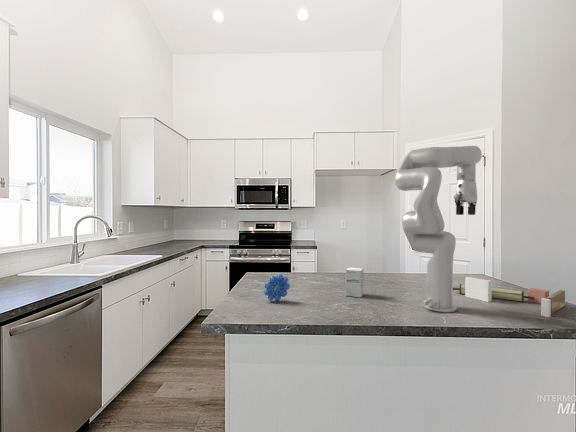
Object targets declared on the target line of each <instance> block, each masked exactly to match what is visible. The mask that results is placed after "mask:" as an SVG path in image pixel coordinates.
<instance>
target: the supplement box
mask: <svg viewBox="0 0 576 432" xmlns="http://www.w3.org/2000/svg"><path fill="white" fill-rule="evenodd" d="M344 295H345V297H354V298H358V299H361V298H362V296H363V295H364V268H363V267H361V268H360V267H347V268H346V269H345V294H344Z"/></svg>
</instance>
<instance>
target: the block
mask: <svg viewBox="0 0 576 432" xmlns="http://www.w3.org/2000/svg"><path fill="white" fill-rule="evenodd" d="M527 296H531V297H534V298H535V299H534V300H532V299H527V300H528V302H530V303H536V304H540V305H541V299H542V298H545V299H546V298H547V297H548V296H550V289H548V290H547V289H542V288H536V287H531V288H528V295H527Z"/></svg>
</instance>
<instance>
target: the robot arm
mask: <svg viewBox="0 0 576 432" xmlns="http://www.w3.org/2000/svg"><path fill="white" fill-rule="evenodd" d="M482 156H483V153H482V150H481V148H480V147H478V146H477V145H464V146H429V147H423V148H417V149H412V150H410V151H409V152H408V153H407V154H406V155H405V157H404V159H403V160H402V162H401V164H400V166H399V168H398V169H397V172H396V175H395V180H394V181H395V183H394V184H395V186H396V187H397V189H399V190H400V191H405V192H407V191H408V192H409V191H420V192H419V193H418V195H417V196H416V198H415V200H414V202H413V209H414V210H409V211H406V212H405V213H404V215H403V217H402V219H401V225H402V230H403V233H404V236H405V237H406V239H407V241H408V243H409V245H410V247H411V249H412V250H413V251H414V252H418V253H424V254H432V256H431V257H430V259H429V260H428V262H427V265H426V297H425V300H424V299H423V300H421V301H420V304H421V306H422V307H423V308H425V309H426V310H430V311H434V312H437V313H453V312H456V311H458V307H457V306H456V305H455V304H454V303H453V300H454V299H453V298H454V297H453V295H454V294H453V291H454V290H453V287H454V281H453V278H454V277H453V272H454V271H453V269H454V254H455V250H456V244H457V243H456V241H457V238H456V237H455V235H454V234H453V233H451V232H449V231H444V230H445V221H444V217H443V215H442V213H441V212H442V211H441V209H440V207H439V203H438V197H439V192H440V187H441V184H442V180H443V179H442V177H443V175H442V171H441V170H440V169H441V168H442V169H443V168H444V169H445V168H446V169H447V168H453V167H456V190H455V194H454V195H453V199H454V205H455V215H457V216H461V215H462V216H463V215H464V210H465V209H464V208H465V206H464V203H467V205H468V206H467V215H468V216H469V215H470V216H475V215H476V207H477V204H478V203H477V202H478V190H477V189H478V188H477V182H476V174H477V173H476V167H477V166H476V164H478V163H480V161H481V160H482Z"/></svg>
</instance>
